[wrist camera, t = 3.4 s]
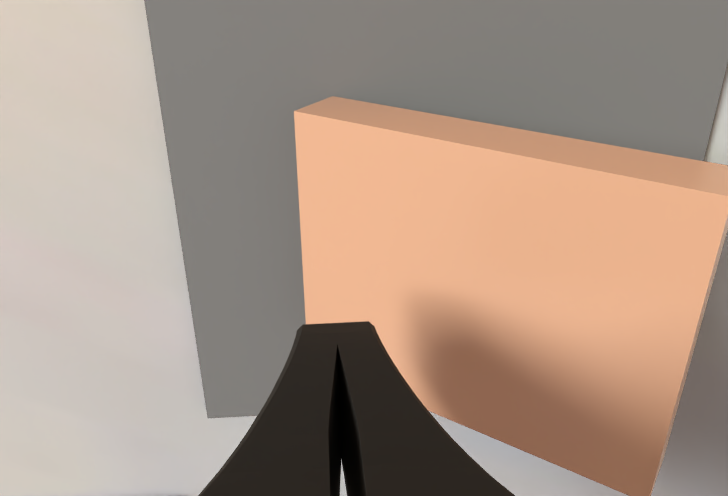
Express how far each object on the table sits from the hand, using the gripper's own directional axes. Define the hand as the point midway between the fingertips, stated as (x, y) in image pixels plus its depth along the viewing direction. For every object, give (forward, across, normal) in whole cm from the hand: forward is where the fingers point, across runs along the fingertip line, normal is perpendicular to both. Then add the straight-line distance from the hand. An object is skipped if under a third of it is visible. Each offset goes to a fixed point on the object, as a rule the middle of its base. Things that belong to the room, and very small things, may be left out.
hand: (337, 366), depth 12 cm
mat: (+6, -3, 0) cm, 7 cm away
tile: (+6, 0, 0) cm, 6 cm away
